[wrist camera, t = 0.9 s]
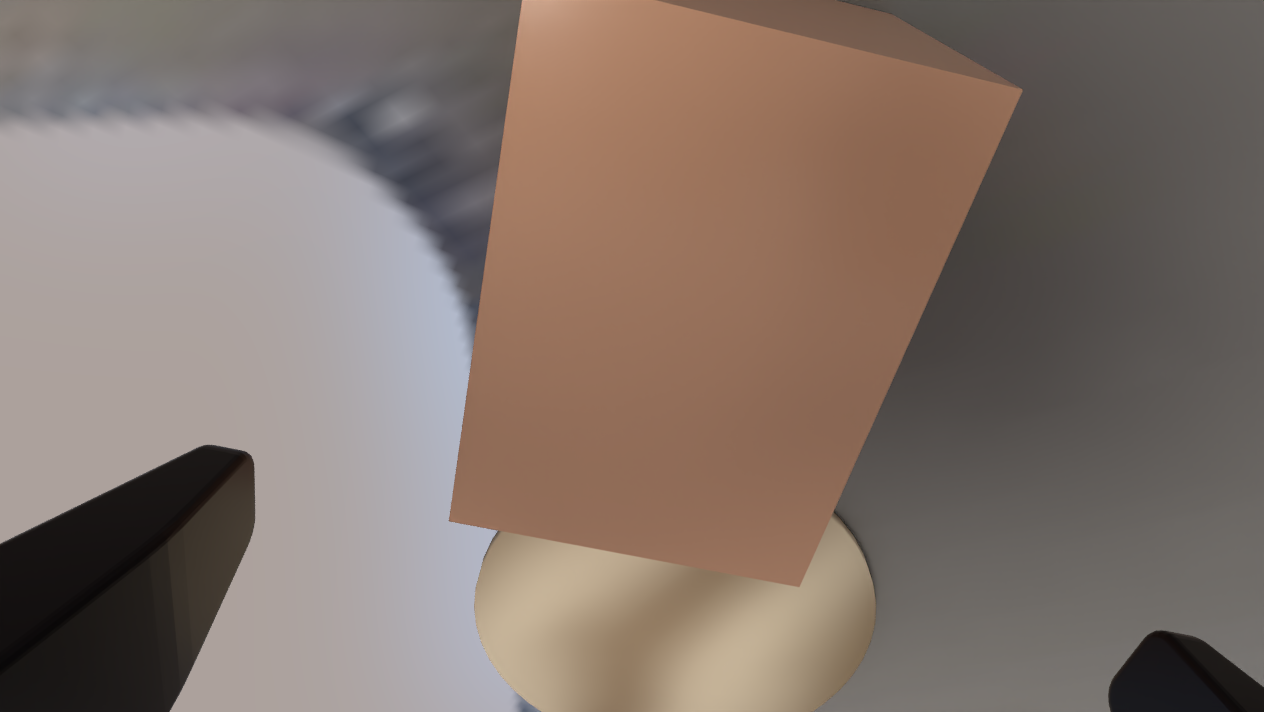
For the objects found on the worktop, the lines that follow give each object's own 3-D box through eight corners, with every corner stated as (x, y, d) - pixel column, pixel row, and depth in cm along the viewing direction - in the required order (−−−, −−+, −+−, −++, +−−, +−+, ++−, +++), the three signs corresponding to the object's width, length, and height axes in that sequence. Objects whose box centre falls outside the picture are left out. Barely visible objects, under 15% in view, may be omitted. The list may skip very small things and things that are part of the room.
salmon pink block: (891, 13, 16) (1023, 89, 10) (760, 383, 21) (799, 587, 15) (578, -64, 16) (527, -31, 10) (512, 332, 20) (448, 521, 14)
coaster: (936, 500, 23) (941, 512, 22) (799, 760, 29) (801, 773, 28) (506, 414, 22) (503, 425, 21) (457, 702, 28) (453, 715, 27)
